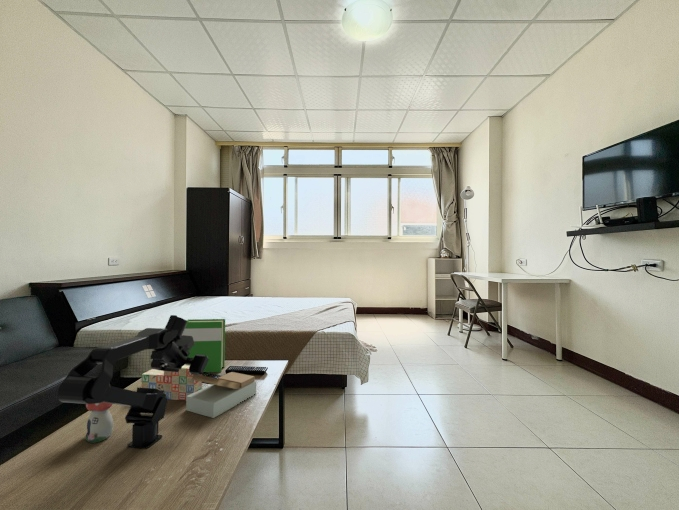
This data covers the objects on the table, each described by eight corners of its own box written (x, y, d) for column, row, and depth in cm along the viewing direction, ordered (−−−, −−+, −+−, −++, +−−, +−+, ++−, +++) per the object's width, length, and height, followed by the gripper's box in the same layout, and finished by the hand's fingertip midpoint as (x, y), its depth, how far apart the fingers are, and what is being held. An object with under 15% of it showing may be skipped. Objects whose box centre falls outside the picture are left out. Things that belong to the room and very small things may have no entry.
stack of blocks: (140, 398, 124) (141, 366, 124) (151, 391, 130) (152, 361, 130) (193, 401, 122) (194, 368, 122) (202, 394, 128) (202, 363, 128)
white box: (213, 418, 108) (213, 397, 108) (186, 410, 114) (186, 390, 114) (256, 393, 128) (256, 376, 128) (231, 388, 134) (231, 371, 134)
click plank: (216, 385, 110) (218, 379, 111) (191, 379, 115) (193, 373, 116) (238, 389, 120) (240, 383, 121) (214, 383, 125) (216, 378, 126)
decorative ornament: (83, 434, 98) (84, 384, 98) (109, 426, 102) (110, 379, 103) (87, 447, 91) (88, 393, 91) (115, 438, 96) (116, 387, 96)
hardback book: (224, 367, 160) (225, 318, 161) (220, 372, 153) (221, 321, 153) (187, 368, 158) (188, 319, 158) (181, 373, 151) (182, 322, 151)
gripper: (206, 332, 109) (222, 353, 120) (157, 328, 112) (177, 349, 123) (191, 364, 101) (210, 383, 113) (139, 358, 104) (162, 377, 116)
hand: (189, 372), depth 116 cm, fingers open, 9 cm apart
